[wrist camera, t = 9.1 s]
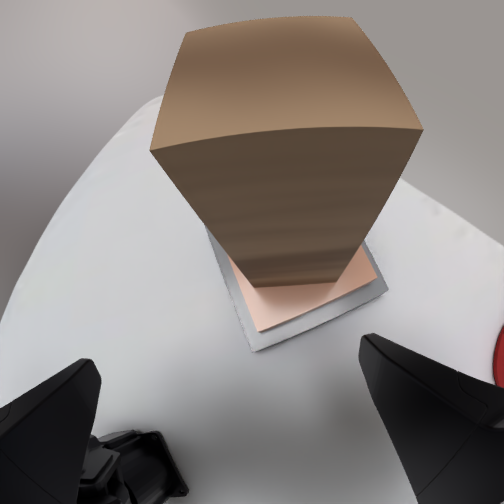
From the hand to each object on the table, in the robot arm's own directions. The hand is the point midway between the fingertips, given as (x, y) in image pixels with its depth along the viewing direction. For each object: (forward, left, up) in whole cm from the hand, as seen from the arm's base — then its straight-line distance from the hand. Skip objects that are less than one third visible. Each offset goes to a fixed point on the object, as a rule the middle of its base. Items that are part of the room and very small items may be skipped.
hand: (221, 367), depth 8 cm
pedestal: (+5, -5, -12) cm, 13 cm away
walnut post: (+5, -5, -8) cm, 11 cm away
